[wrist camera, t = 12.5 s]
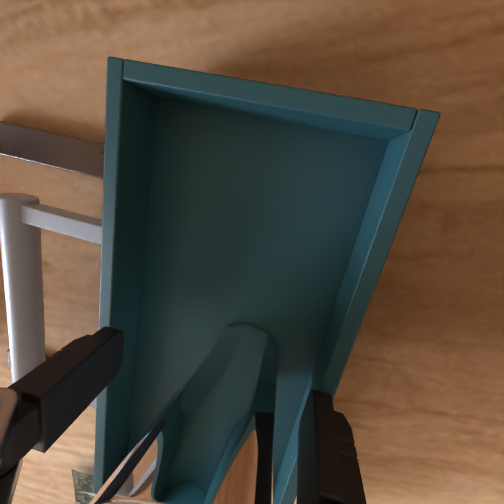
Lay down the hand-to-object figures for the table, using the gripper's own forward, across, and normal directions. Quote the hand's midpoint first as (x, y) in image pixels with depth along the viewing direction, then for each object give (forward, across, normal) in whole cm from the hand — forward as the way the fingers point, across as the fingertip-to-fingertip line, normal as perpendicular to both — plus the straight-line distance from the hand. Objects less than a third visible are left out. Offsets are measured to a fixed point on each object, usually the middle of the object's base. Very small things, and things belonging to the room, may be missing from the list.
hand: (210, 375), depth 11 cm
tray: (+3, +3, 0) cm, 4 cm away
